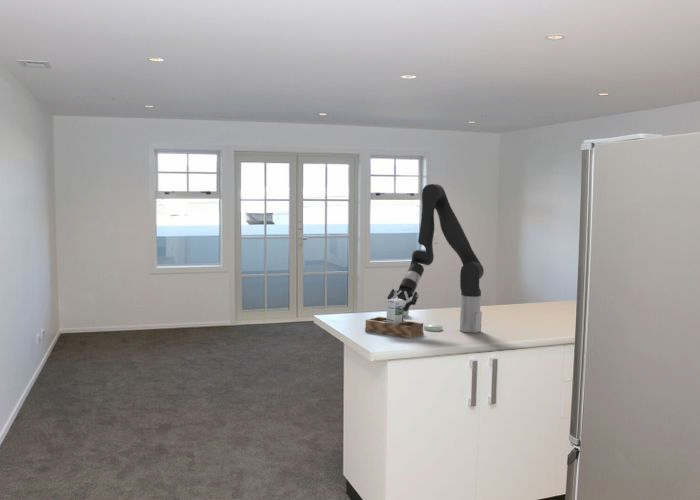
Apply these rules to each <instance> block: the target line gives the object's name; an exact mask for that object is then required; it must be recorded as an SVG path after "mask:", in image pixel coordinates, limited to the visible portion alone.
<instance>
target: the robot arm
mask: <svg viewBox="0 0 700 500" xmlns="http://www.w3.org/2000/svg"><path fill="white" fill-rule="evenodd" d="M435 211H436V213H437V215H438V219H439V225H440V229H441V232H442V234H443V236H444V238H445V240H446V242H447V243H448V245H449V247H451V249H452V250H453V251H454V252H455V253H456V254H457V256H458V257H459V258H460V262H461V263H462V266H461V269H460V273H459V275H460V277H459V278H460V280H459V284H460V285H459V287H460V292H461V293H460V315H459V317H460V319H459V331H460V332H463V333H470V334H471V333H474V334H478V333H479V332H481V331H482V317H483V315H482V313H483V311H482V310H481V301H482V300H481V299H482V290H481V289H480V280H481V279H482V277H483V276H484V272H485V271H484V267H483V265H482V263H481V262H480V260H479V258H478V257H477V255H476V254H475V252H474V251H473V248H472V247H471V246H472V245H471V244H470V241H469V240H468V238H467V236H466V234H465V231H464V228H463V227H462V225H461V223H460V222H459V220H458V218H457V215H456V214H455V212H454V210H453V208H452V207H451V205H450V202H449V199H448V197H447V194H446V191H445V189H444V188H443V187H442V186H441V184H438V183H429V184H426V185H424V186H423V189H422V192H421V219H420V227H419V233H418V238H417V242H418V245H421V246H423V247H424V248H425V249H421V248H416V249H414V250H413V251H412V255H411V261H410V265H409V268H408V269H407V271H406V273H405V274H404V277H403V278H402V280H401V283H400V284H399V286H398V289H397V290H395V289H394V288H392V289H391V290H390V292H389V294H388V296H387V299H396V297H397V296H398V298H397V299H402V300H404V301H406V300H407V303H406V305H405V307H404V311H408V309H410V306H412V305H413V306H415V305H416V303H417V302H418V301H417V300H418V299H419V294H418V292H417V291H416V289H417V288H418V285H419V283H420V280H421V279H422V278H421V277H422V276H423V275H424V271H425V268H424V266H423V265H425V266H430V265H432V263H433V262H434V256H435V255H434V249H433V240H434V234H435ZM387 299H386V300H387Z"/></svg>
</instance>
